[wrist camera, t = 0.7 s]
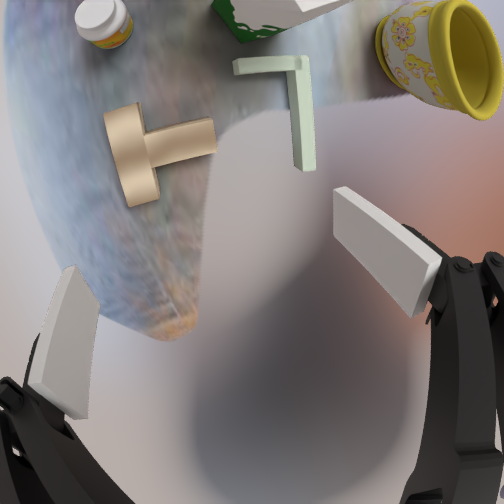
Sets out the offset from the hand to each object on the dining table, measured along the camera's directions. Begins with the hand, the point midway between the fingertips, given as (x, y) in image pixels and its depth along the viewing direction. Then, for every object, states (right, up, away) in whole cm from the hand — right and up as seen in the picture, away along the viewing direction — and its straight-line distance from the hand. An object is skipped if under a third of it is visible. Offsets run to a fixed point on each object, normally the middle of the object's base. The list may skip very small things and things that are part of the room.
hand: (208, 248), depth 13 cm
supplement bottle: (-15, +27, +9) cm, 32 cm away
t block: (-9, +14, +19) cm, 25 cm away
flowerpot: (+27, +33, +18) cm, 46 cm away
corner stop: (+5, +18, +21) cm, 28 cm away
